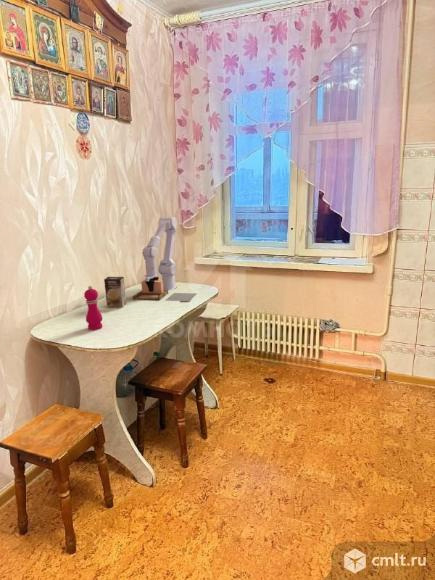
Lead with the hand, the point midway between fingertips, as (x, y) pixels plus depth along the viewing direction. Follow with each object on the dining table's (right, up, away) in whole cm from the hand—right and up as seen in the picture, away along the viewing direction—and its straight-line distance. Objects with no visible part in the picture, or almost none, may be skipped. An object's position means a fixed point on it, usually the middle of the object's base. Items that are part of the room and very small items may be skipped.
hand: (152, 290), depth 231 cm
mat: (+17, -4, -5) cm, 18 cm away
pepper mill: (-18, -17, -49) cm, 55 cm away
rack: (-1, -4, -3) cm, 5 cm away
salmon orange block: (0, -3, +1) cm, 3 cm away
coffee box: (-16, -9, -18) cm, 26 cm away
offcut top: (-1, -4, -6) cm, 7 cm away
